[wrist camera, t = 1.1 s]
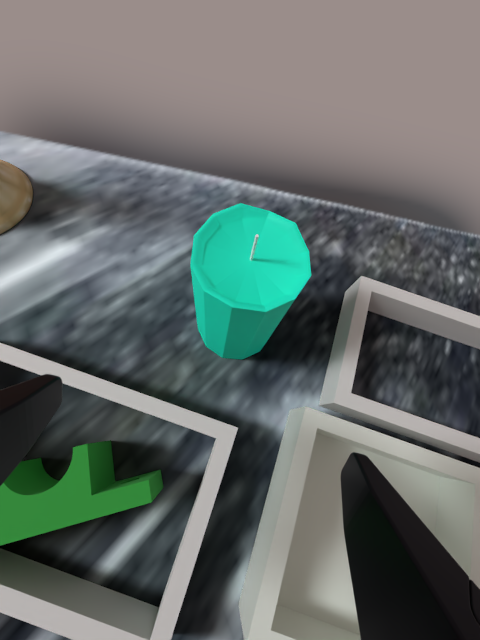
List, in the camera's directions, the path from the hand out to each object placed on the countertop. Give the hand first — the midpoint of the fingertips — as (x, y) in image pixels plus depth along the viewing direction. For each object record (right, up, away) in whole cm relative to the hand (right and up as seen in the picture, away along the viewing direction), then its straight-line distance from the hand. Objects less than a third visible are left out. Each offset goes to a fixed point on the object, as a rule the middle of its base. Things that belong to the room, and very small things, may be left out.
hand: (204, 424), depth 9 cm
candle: (+1, +3, +16) cm, 16 cm away
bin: (+9, -11, +11) cm, 18 cm away
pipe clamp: (-10, -8, +11) cm, 17 cm away
